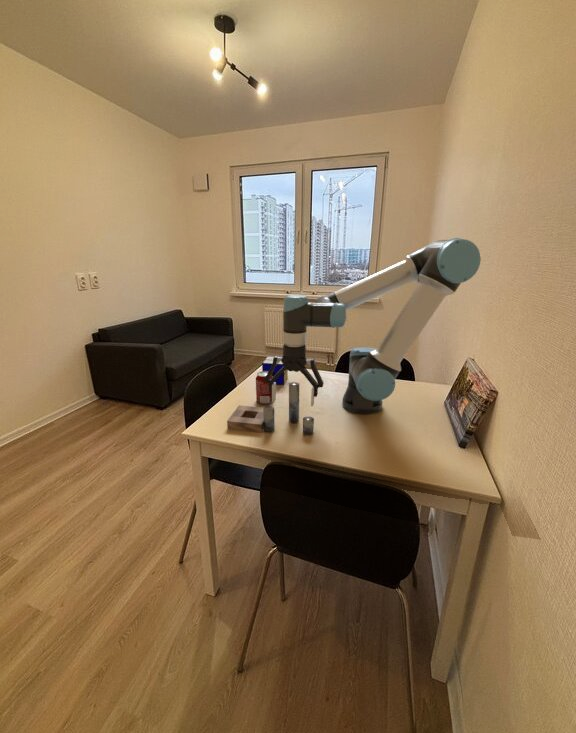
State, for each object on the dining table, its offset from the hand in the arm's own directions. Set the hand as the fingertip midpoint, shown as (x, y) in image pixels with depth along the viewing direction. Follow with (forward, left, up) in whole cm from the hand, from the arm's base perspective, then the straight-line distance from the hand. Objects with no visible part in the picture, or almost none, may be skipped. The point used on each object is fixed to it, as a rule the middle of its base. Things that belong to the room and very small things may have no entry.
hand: (292, 402), depth 112 cm
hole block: (+15, +4, -7) cm, 17 cm away
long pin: (0, 0, -7) cm, 7 cm away
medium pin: (+7, +8, -7) cm, 12 cm away
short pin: (-6, +7, -7) cm, 12 cm away
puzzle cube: (+15, -36, -7) cm, 40 cm away
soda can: (+14, -13, -7) cm, 20 cm away
